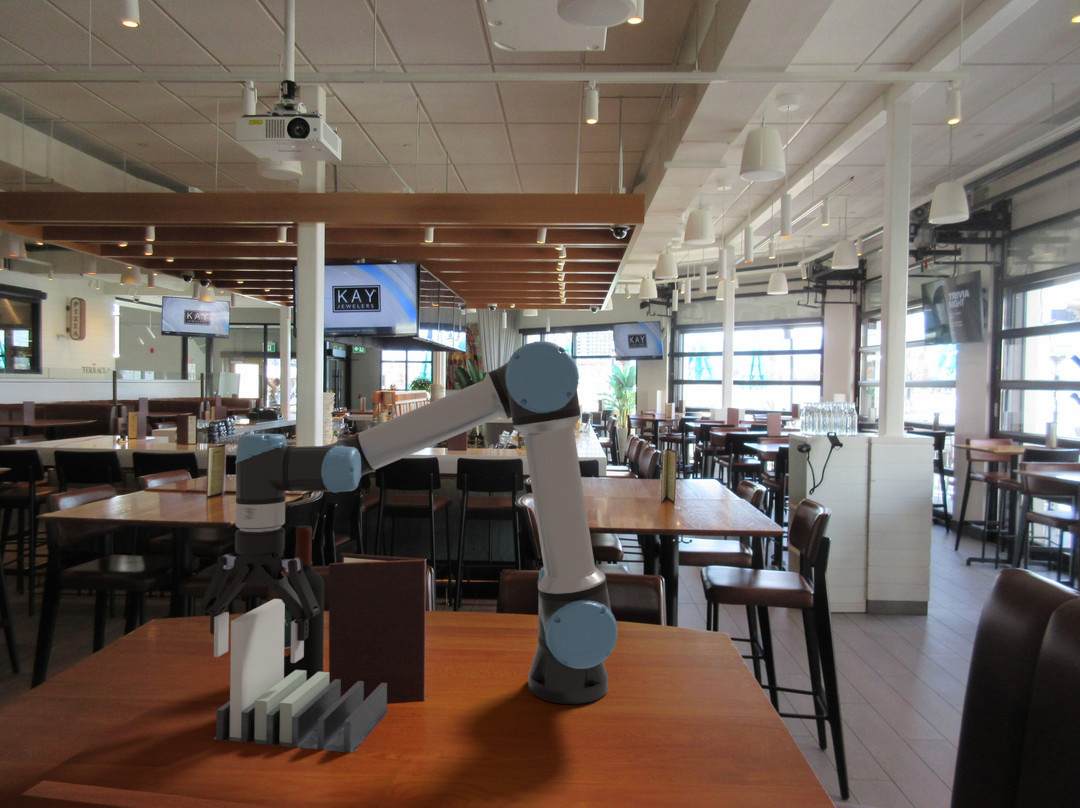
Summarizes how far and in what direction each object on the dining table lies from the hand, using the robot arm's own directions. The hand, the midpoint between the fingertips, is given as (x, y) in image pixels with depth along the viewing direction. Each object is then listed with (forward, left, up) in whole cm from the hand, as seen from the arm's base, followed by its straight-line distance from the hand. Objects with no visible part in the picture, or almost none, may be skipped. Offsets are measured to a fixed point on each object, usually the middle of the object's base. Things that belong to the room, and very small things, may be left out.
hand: (258, 657), depth 107 cm
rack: (-8, 0, -12) cm, 14 cm away
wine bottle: (+2, -17, -12) cm, 21 cm away
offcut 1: (-4, 0, -10) cm, 11 cm away
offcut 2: (-8, 0, -10) cm, 13 cm away
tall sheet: (0, 0, -10) cm, 10 cm away
